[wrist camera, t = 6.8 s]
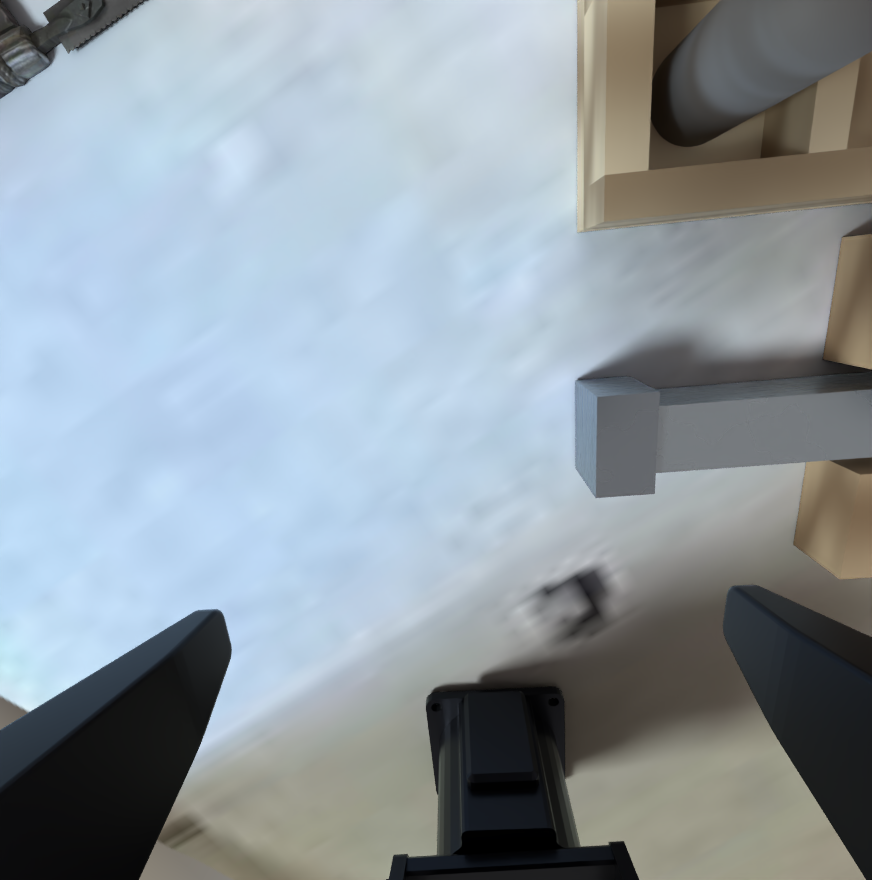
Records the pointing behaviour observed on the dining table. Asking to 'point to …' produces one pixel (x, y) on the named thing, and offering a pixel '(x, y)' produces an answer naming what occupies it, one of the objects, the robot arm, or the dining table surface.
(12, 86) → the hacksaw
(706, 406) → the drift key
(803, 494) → the socket block
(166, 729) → the robot arm
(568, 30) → the dining table surface
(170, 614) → the dining table surface
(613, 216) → the rack
